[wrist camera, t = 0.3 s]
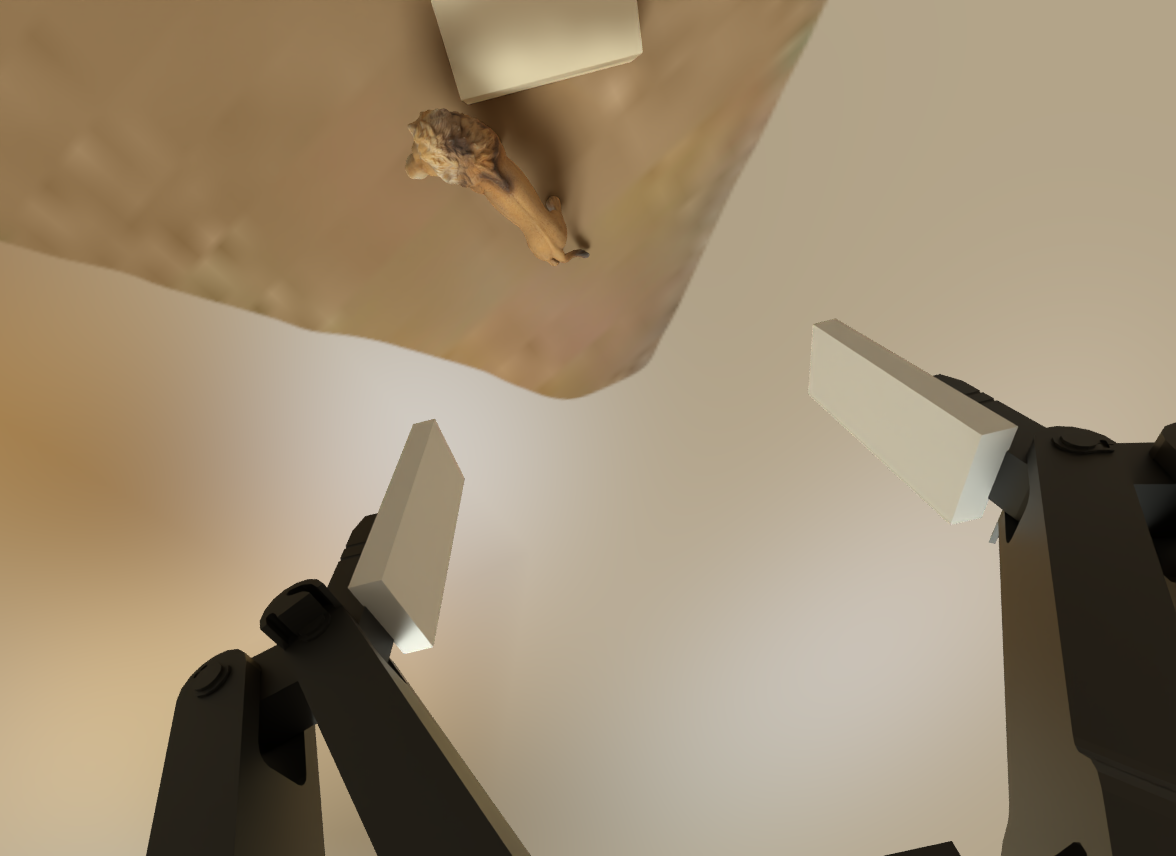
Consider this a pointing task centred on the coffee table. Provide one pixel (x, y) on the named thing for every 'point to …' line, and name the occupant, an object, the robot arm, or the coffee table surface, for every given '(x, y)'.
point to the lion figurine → (487, 177)
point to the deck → (533, 41)
